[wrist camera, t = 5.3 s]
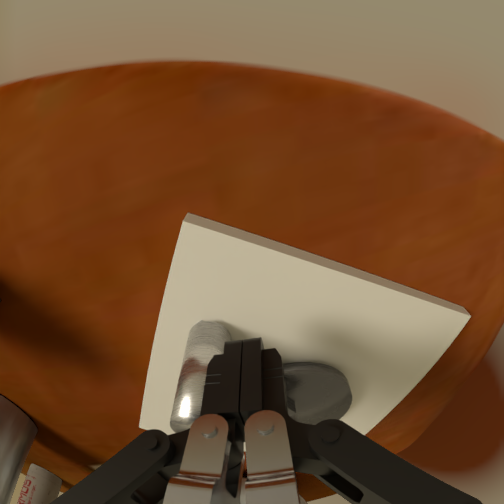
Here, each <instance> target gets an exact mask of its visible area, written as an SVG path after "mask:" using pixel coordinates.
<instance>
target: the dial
mask: <svg viewBox="0 0 504 504" xmlns="http://www.w3.org/2000/svg"><path fill="white" fill-rule="evenodd" d="M226 341H231V334H230V332H229V330H228V329H227V328H226V327H224V326H223V325H221V324H219V323H216V322H212V321H203V322H199V323H197V324H195V325H194V326H193V327H192V328H191V329H190V331H189V335H188V339H187V344H186V348H185V353H184V357H183V362H182V366H181V371H180V375H179V380H178V385H177V390H176V394H175V399H174V404H173V409H172V414H171V419H170V427H171V429H172V430H173V431H174V432H175V433H178V432H182V431H185V430H187V429H189V428H191V425H192V423H193V422H194V421H195V420H196V419H197V418H199V417H200V412H201V406H202V399H203V392H204V386H205V380H206V373H207V367H208V363H209V362H210V360H211V359H212V357H213V356H214V355H219V354H223V352H224V344H225V342H226ZM283 369H284V375H285V382H286V393H287V405H288V415H289V416H290V417H291V418H292V419H294V420H295V421H297V422H300V423H305V424H312V425H316V424H317V423H319V422H321V421H323V420H327V419H337V420H339V419H341V418H342V417H343V416H344V415H345V414H346V412H347V411H348V410H349V408H350V406H351V403H352V393H351V389H350V386H349V383H348V380H347V378H346V377H345V375H344V374H343V373H342V372H340V371H339V370H337V369H336V368H334V367H331V366H329V365H325V364H321V363H315V362H293V363H286V364H283Z"/></svg>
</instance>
